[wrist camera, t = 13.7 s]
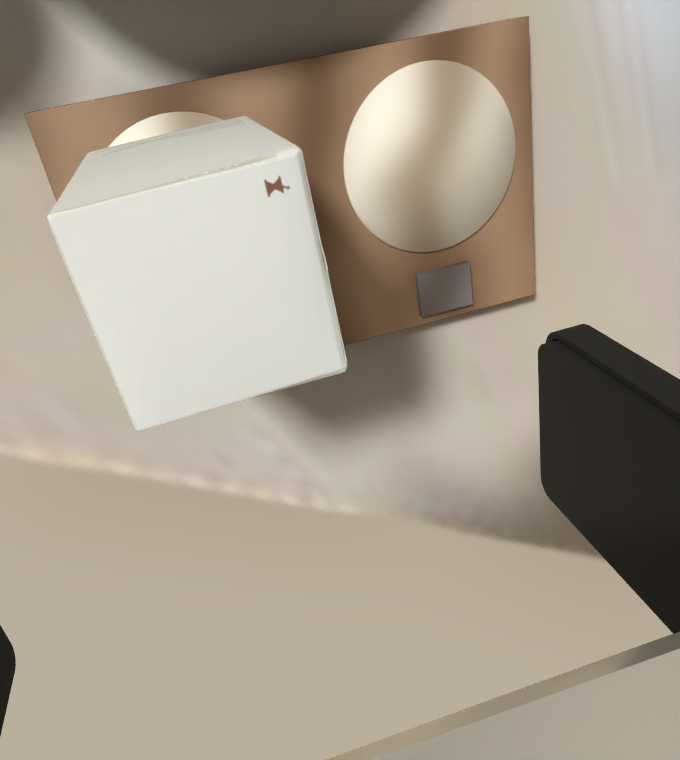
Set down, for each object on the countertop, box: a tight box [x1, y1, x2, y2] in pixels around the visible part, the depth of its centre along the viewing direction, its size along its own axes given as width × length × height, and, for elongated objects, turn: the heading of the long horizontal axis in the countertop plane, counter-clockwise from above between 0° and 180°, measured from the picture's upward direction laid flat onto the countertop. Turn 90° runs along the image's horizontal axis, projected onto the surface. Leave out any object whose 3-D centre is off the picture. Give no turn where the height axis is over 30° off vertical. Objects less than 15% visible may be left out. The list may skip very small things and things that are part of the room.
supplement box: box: [47, 116, 347, 432], centre depth 25 cm, size 7×7×13 cm
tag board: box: [24, 16, 535, 345], centre depth 32 cm, size 23×14×2 cm, turn 100°
